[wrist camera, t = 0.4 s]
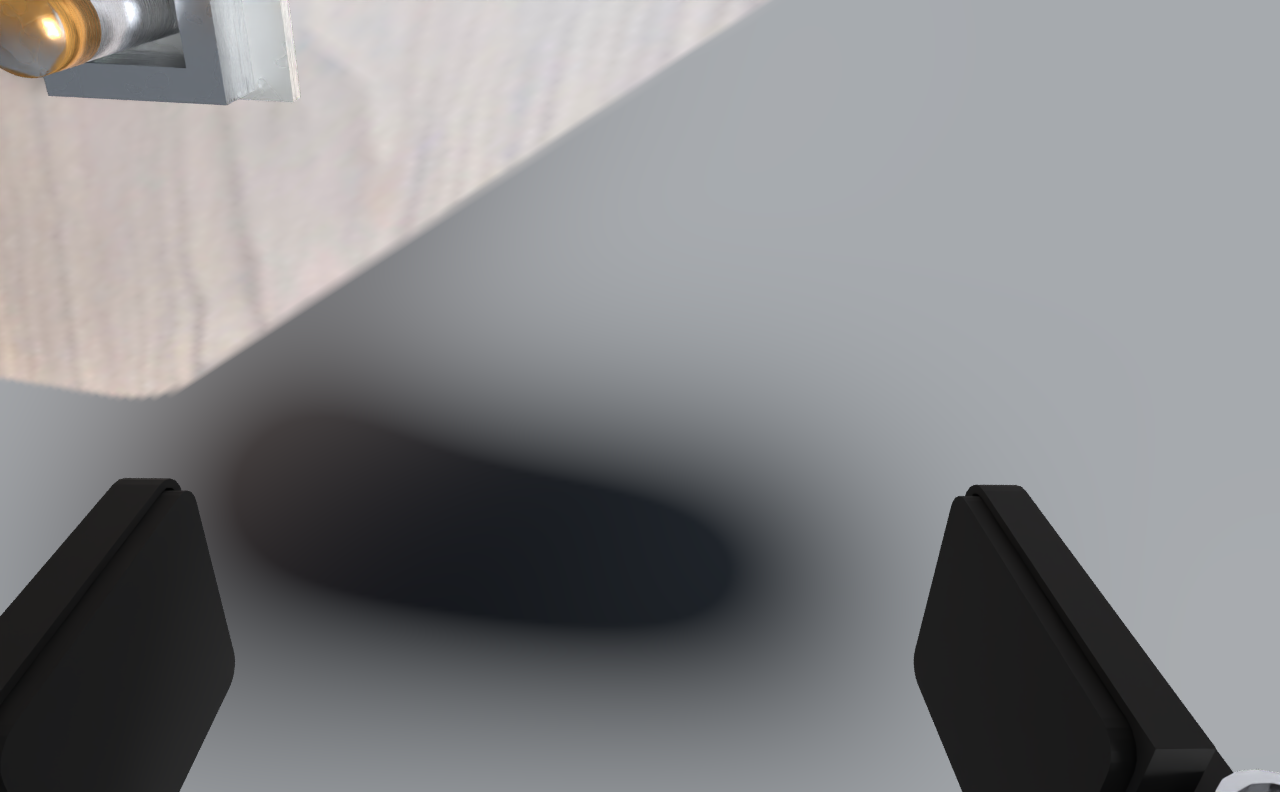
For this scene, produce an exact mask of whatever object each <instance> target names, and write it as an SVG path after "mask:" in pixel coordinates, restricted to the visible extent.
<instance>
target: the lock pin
mask: <svg viewBox="0 0 1280 792" xmlns="http://www.w3.org/2000/svg"><path fill="white" fill-rule="evenodd" d="M179 32H180V31H179V26H178V20H177V15H176V9H175V4H174V0H0V68H2V69H3V70H5V71H7V72H9V73H11V74H14V75H17V76H21V77H27V78H38V77H43V76H46V75H49V74H53V73H56V72H59V71H62V70H65V69H68V68H72V67H75V66H78V65H81V64H84V63H86V62H88V61H92V60H95V59H98V58H101V57H104V56H107V55H111V54H114V53H117V52H120V51H123V50H127V49H130V48H133V47H136V46H139V45H143V44H146V43H149V42H152V41H155V40H159V39H162V38H165V37H168V36H171V35H175V34H178V33H179Z"/></svg>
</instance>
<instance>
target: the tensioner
mask: <svg viewBox="0 0 1280 792" xmlns="http://www.w3.org/2000/svg"><path fill="white" fill-rule="evenodd" d="M174 4H175V9H176V15H177V20H178V26H179V31H180V32H179V33H178V34H175V35H171V36H168V37H165V38H162V39H159V40H155V41H152V42H149V43H146V44H143V45H139V46H136V47H133V48H130V49H127V50H123V51H120V52H117V53H114V54H111V55H107V56H104V57H101V58H98V59H95V60H92V61H88V62H86V63H84V64H81V65H78V66H75V67H72V68H68V69H65V70H62V71H59V72H56V73H53V74H49V75H46V76H44V80H45V84H46V88H47V92H48V96H63V97H82V98H101V99H120V100H138V101H157V102H176V103H195V104H213V105H228V104H230V103H232V102H234V101H235V100H237V99H243V100H261V101H280V102H294V101H296V100H297V99H299V98H300V97H301V96H300V87H299V79H298V71H297V63H296V55H295V47H294V39H293V31H292V23H291V14H290V6H289V0H174Z"/></svg>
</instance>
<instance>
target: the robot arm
mask: <svg viewBox="0 0 1280 792" xmlns="http://www.w3.org/2000/svg"><path fill="white" fill-rule="evenodd" d="M234 667H235V656H234V651H233V647H232V643H231V639H230V635H229V631H228V627H227V623H226V619H225V615H224V611H223V606H222V603H221V598H220V594H219V591H218V586H217V582H216V578H215V574H214V570H213V566H212V562H211V558H210V555H209V550H208V546H207V542H206V538H205V534H204V530H203V526H202V522H201V518H200V515H199V510H198V506H197V502H196V499H195V497H194V495H193V494H192V492H190V491H181V488H180V486H179V485H178V483H177V482H176V481H175V480H173V479H163V478H124V479H119V480H118V481H117V482H116V483H114V484H113V485H112V486H111V488H110V489H109V490H108V491H107V492H106V494H105V495H104V496H103V497H102V498H101V499H100V500H99V502H98V503H97V504H96V505H95V506H94V508H93V509H92V510H91V511H90V512H89V513H88V515H87V516H86V517H85V518H84V519H83V520H82V522H81V523H80V524H79V525H78V526H77V528H76V529H75V530H74V531H73V532H72V533H71V534H70V536H69V537H68V538H67V539H66V540H65V542H64V543H63V544H62V545H61V546H60V547H59V548H58V550H57V551H56V552H55V553H54V554H53V555H52V557H51V558H50V559H49V560H48V561H47V562H46V564H45V565H44V566H43V567H42V568H41V570H40V571H39V572H38V573H37V574H36V575H35V576H34V578H33V579H32V580H31V581H30V582H29V584H28V585H27V586H26V587H25V588H24V589H23V591H22V592H21V593H20V594H19V595H18V596H17V598H16V599H15V600H14V601H13V602H12V603H11V605H10V606H9V607H8V608H7V609H6V610H5V612H4V613H3V614H2V615H1V616H0V792H179V791H180V789H181V787H182V785H183V783H184V781H185V779H186V777H187V774H188V773H189V770H190V768H191V766H192V764H193V762H194V760H195V758H196V756H197V754H198V752H199V750H200V748H201V746H202V743H203V741H204V739H205V737H206V735H207V733H208V731H209V729H210V727H211V725H212V723H213V721H214V718H215V716H216V714H217V712H218V710H219V708H220V706H221V704H222V702H223V699H224V698H225V696H226V693H227V691H228V689H229V687H230V685H231V682H232V679H233V675H234ZM914 670H915V676H916V679H917V683H918V685H919V688H920V690H921V693H922V695H923V697H924V700H925V703H926V705H927V707H928V710H929V712H930V715H931V717H932V720H933V722H934V724H935V727H936V729H937V731H938V734H939V736H940V739H941V741H942V744H943V746H944V748H945V751H946V753H947V756H948V758H949V760H950V763H951V765H952V768H953V770H954V772H955V775H956V777H957V780H958V782H959V785H960V787H961V789H962V792H1280V773H1277V772H1271V771H1265V770H1259V769H1256V770H1245V771H1237V772H1235V773H1233V772H1232V770H1231V769H1230V767H1229V766H1228V765H1227V763H1226V762H1225V761H1224V759H1223V758H1222V757H1221V755H1220V754H1219V753H1218V752H1217V750H1216V748H1215V746H1214V745H1213V743H1212V742H1211V741H1210V740H1209V738H1208V737H1207V735H1206V734H1205V733H1204V731H1203V730H1202V729H1201V727H1200V726H1199V725H1198V723H1197V722H1196V720H1195V719H1194V718H1193V716H1192V715H1191V714H1190V712H1189V711H1188V710H1187V708H1186V707H1185V706H1184V704H1183V703H1182V702H1181V700H1180V699H1179V698H1178V696H1177V695H1176V693H1175V692H1174V691H1173V689H1172V688H1171V687H1170V685H1169V684H1168V683H1167V681H1166V680H1165V679H1164V677H1163V676H1162V675H1161V673H1160V672H1159V670H1158V669H1157V668H1156V666H1155V665H1154V664H1153V662H1152V661H1151V660H1150V658H1149V657H1148V656H1147V654H1146V653H1145V652H1144V650H1143V649H1142V647H1141V646H1140V645H1139V643H1138V642H1137V641H1136V639H1135V638H1134V637H1133V635H1132V634H1131V633H1130V631H1129V630H1128V629H1127V627H1126V626H1125V625H1124V623H1123V622H1122V620H1121V619H1120V618H1119V616H1118V615H1117V614H1116V612H1115V611H1114V610H1113V608H1112V607H1111V606H1110V604H1109V603H1108V601H1107V600H1106V599H1105V597H1104V596H1103V595H1102V593H1101V592H1100V591H1099V589H1098V588H1097V587H1096V585H1095V584H1094V583H1093V581H1092V580H1091V579H1090V577H1089V576H1088V574H1087V573H1086V572H1085V570H1084V569H1083V568H1082V566H1081V565H1080V564H1079V562H1078V561H1077V560H1076V558H1075V557H1074V556H1073V554H1072V553H1071V551H1070V550H1069V549H1068V547H1067V546H1066V545H1065V543H1064V542H1063V541H1062V539H1061V538H1060V537H1059V535H1058V534H1057V533H1056V531H1055V530H1054V528H1053V527H1052V526H1051V525H1050V523H1049V522H1048V520H1047V519H1046V518H1045V516H1044V515H1043V514H1042V512H1041V511H1040V510H1039V508H1038V507H1037V505H1036V504H1035V503H1034V502H1033V500H1032V499H1031V497H1030V496H1029V495H1028V493H1027V492H1026V491H1025V490H1024V489H1023V488H1022V487H1021V486H1017V485H973V486H971V487H970V488H969V490H968V491H967V492H966V495H965V496H958V497H956V498H955V499H954V501H953V503H952V506H951V509H950V513H949V518H948V521H947V525H946V529H945V533H944V537H943V541H942V545H941V549H940V553H939V557H938V561H937V565H936V569H935V573H934V577H933V581H932V585H931V589H930V593H929V597H928V601H927V605H926V609H925V613H924V617H923V621H922V624H921V629H920V633H919V636H918V641H917V645H916V648H915V653H914Z"/></svg>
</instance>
